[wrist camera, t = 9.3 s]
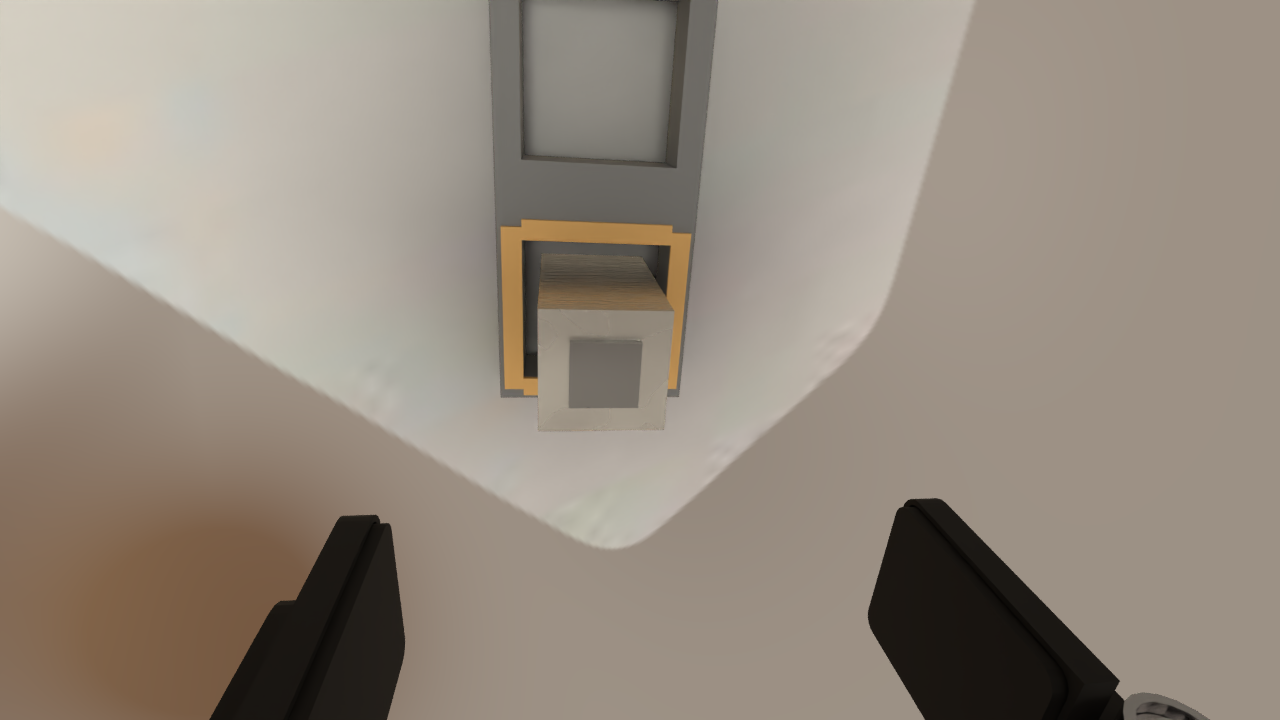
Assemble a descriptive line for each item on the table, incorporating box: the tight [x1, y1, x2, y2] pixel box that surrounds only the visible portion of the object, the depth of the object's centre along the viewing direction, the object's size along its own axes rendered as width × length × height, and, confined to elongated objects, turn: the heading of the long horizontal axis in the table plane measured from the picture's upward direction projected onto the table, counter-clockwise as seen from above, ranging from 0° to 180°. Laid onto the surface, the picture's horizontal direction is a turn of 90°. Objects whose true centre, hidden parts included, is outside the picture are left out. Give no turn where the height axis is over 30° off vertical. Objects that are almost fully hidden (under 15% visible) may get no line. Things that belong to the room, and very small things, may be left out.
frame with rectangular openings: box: [489, 0, 718, 397], centre depth 24 cm, size 17×8×3 cm, turn 176°
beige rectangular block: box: [538, 253, 675, 431], centre depth 24 cm, size 4×4×8 cm
